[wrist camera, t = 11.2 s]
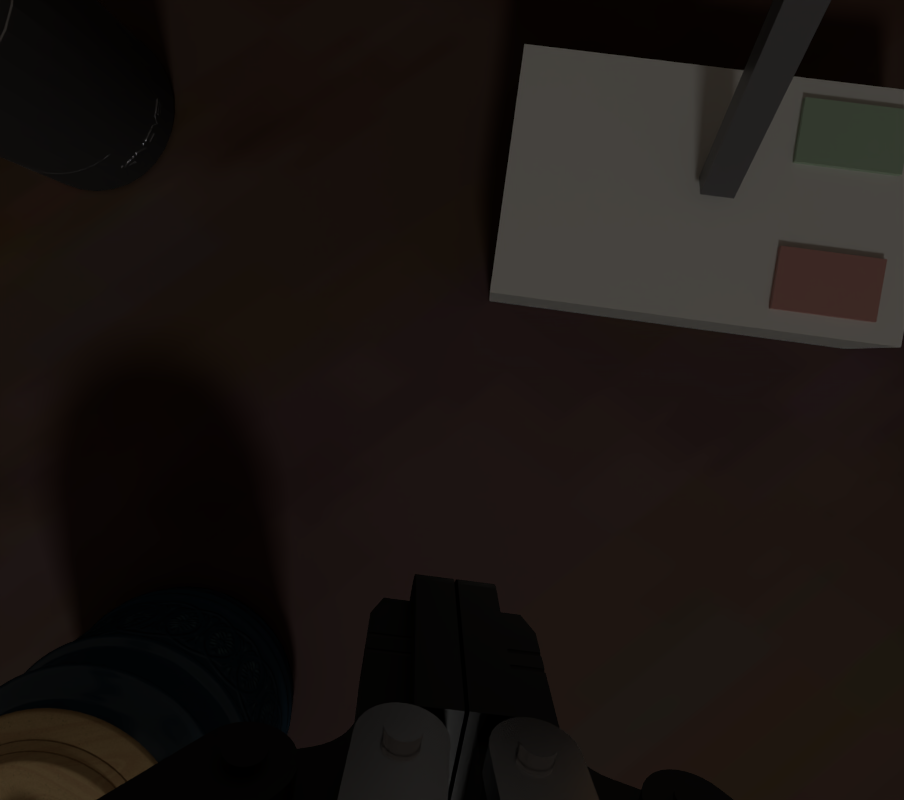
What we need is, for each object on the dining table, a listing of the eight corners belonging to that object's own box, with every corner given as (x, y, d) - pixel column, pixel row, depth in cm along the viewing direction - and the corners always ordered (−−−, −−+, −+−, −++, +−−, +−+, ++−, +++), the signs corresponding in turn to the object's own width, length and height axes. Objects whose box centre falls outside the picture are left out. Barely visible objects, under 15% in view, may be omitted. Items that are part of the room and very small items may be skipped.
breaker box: (489, 300, 41) (489, 291, 35) (519, 86, 41) (524, 41, 35) (844, 348, 41) (904, 347, 35) (882, 130, 40) (949, 92, 34)
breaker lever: (689, 203, 34) (859, -197, 21) (688, 165, 35) (846, -232, 22) (745, 210, 34) (951, -187, 21) (741, 172, 35) (931, -223, 22)
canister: (343, 700, 43) (245, 938, 25) (185, 834, 44) (-16, 1151, 26) (198, 536, 43) (-2, 660, 25) (42, 674, 44) (-255, 886, 26)
